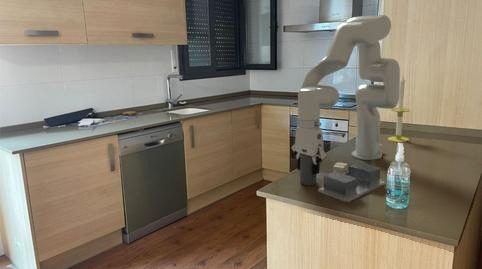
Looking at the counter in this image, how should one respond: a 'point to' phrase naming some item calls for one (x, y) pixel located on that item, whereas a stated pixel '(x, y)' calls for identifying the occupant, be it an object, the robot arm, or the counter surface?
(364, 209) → the counter surface
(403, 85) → the candle
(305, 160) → the bottle
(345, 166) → the loose block
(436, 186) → the counter surface
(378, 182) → the board
